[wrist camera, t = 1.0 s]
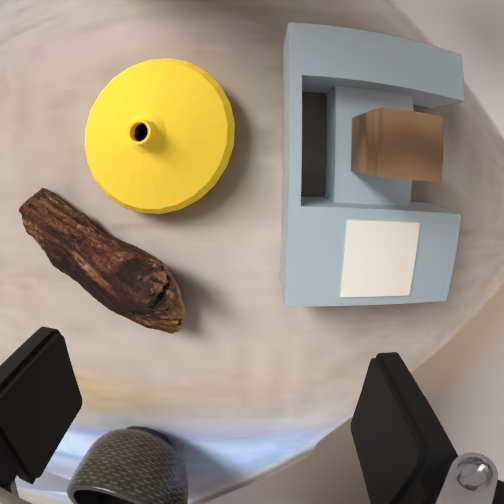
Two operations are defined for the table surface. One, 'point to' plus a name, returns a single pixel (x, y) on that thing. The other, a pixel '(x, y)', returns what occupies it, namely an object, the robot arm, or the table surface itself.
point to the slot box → (362, 174)
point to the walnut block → (398, 144)
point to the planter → (130, 470)
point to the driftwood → (104, 264)
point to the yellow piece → (159, 136)
